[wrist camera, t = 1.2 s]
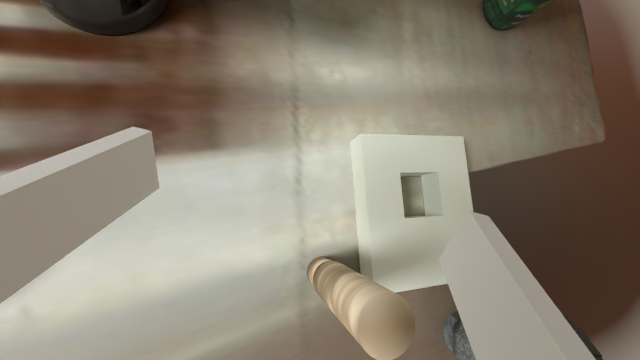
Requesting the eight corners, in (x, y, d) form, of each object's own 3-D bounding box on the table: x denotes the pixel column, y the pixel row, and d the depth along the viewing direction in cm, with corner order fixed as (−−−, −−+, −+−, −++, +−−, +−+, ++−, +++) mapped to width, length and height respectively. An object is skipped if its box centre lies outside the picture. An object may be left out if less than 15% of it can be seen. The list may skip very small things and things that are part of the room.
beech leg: (304, 256, 35) (356, 297, 18) (335, 253, 36) (411, 288, 19) (306, 290, 34) (361, 367, 17) (337, 286, 36) (418, 353, 18)
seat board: (350, 141, 39) (360, 133, 35) (444, 143, 44) (463, 136, 40) (361, 287, 37) (374, 295, 33) (460, 271, 41) (482, 277, 38)
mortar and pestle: (441, 374, 38) (523, 442, 27) (427, 311, 39) (501, 352, 27) (496, 347, 41) (590, 398, 30) (482, 290, 42) (568, 319, 31)
